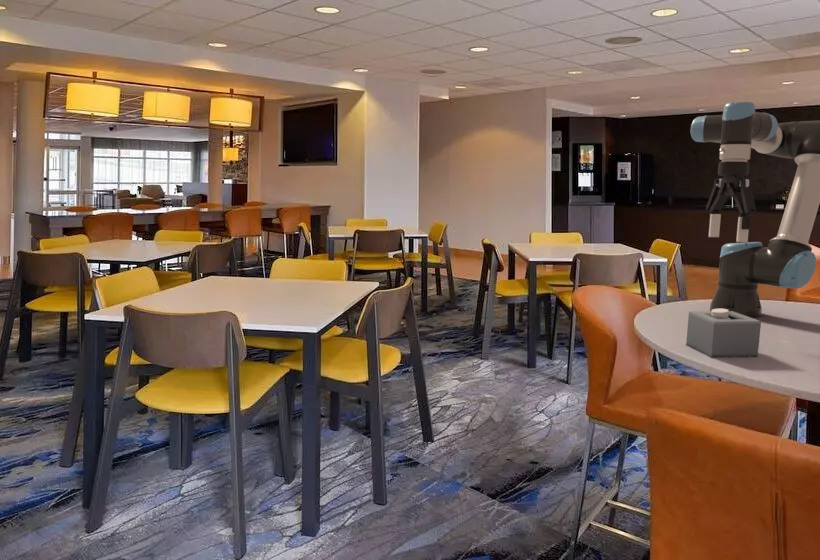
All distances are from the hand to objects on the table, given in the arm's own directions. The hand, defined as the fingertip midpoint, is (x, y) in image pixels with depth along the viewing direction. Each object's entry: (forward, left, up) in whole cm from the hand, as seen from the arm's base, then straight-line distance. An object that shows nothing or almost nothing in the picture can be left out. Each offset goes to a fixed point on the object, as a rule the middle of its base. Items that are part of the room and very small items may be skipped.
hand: (727, 239), depth 182 cm
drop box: (+10, +18, -27) cm, 34 cm away
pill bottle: (+10, +18, -26) cm, 33 cm away
